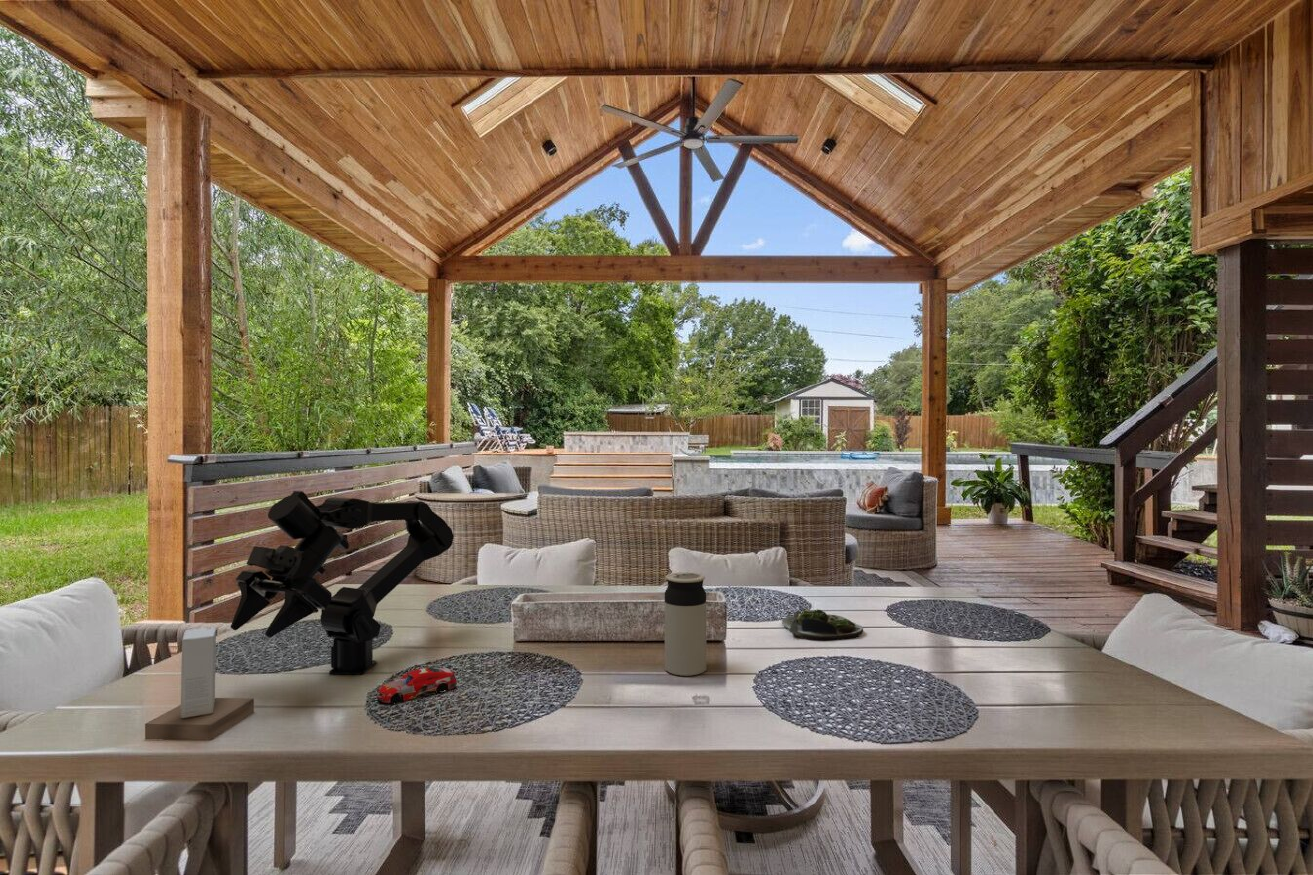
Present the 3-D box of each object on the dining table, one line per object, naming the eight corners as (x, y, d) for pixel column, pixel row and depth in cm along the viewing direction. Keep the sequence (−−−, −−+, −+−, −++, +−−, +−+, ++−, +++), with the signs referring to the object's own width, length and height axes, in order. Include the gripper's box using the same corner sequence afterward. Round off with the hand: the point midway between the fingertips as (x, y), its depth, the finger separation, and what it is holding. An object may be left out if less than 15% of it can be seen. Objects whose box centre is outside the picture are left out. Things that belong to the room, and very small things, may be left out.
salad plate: (765, 620, 164) (765, 601, 164) (832, 616, 167) (832, 598, 167) (797, 645, 145) (797, 623, 145) (873, 639, 148) (872, 618, 148)
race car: (381, 709, 111) (381, 685, 111) (373, 699, 115) (373, 675, 115) (459, 690, 119) (459, 668, 119) (449, 681, 123) (449, 660, 123)
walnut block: (253, 716, 109) (253, 698, 109) (210, 744, 99) (210, 724, 99) (193, 715, 109) (193, 697, 109) (145, 743, 99) (145, 723, 99)
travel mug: (714, 669, 129) (714, 575, 129) (687, 680, 123) (687, 582, 123) (683, 659, 134) (683, 569, 134) (656, 670, 128) (655, 576, 128)
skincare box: (182, 706, 106) (184, 629, 106) (215, 701, 108) (216, 626, 108) (179, 719, 100) (181, 639, 101) (213, 713, 103) (215, 635, 103)
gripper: (246, 524, 120) (179, 599, 110) (315, 530, 111) (250, 613, 102) (287, 560, 127) (229, 634, 117) (356, 569, 118) (299, 649, 109)
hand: (249, 632), depth 111 cm, fingers open, 9 cm apart
